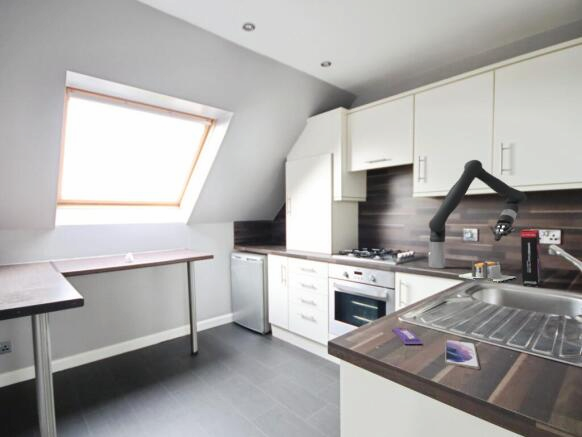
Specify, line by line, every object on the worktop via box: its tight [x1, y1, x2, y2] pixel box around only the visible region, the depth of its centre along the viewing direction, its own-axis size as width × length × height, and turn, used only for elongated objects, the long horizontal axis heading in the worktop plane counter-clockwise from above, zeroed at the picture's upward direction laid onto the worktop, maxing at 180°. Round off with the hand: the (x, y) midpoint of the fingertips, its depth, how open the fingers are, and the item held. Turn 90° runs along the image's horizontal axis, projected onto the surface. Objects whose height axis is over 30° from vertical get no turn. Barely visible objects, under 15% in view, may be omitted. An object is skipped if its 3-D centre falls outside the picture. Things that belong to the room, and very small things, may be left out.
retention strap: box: [475, 261, 497, 267], centre depth 171 cm, size 4×1×16 cm
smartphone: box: [444, 339, 480, 371], centre depth 78 cm, size 7×1×15 cm
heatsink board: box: [458, 260, 517, 282], centre depth 171 cm, size 20×20×10 cm
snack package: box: [391, 327, 424, 345], centre depth 89 cm, size 12×2×5 cm
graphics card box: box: [520, 228, 542, 287], centre depth 155 cm, size 17×7×27 cm, turn 138°
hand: (496, 240), depth 177 cm, fingers closed
